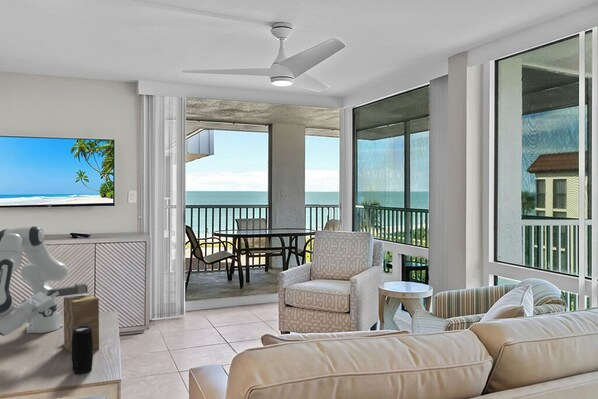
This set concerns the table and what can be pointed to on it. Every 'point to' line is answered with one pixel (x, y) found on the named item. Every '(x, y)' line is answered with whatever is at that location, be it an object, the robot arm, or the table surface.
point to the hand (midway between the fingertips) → (56, 291)
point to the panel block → (81, 317)
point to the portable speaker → (82, 349)
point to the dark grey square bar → (69, 290)
